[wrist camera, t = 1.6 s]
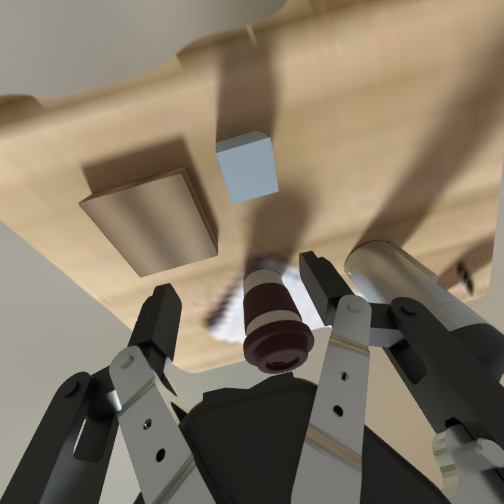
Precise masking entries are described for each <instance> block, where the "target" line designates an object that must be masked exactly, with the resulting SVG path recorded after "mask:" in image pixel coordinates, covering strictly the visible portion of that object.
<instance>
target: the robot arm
mask: <svg viewBox="0 0 504 504" xmlns="http://www.w3.org/2000/svg"><path fill="white" fill-rule="evenodd" d="M299 269H300V276H301V280H302V282H303V284H304V286H305V288H306V290H307V292H308V294H309V296H310V298H311V300H312V302H313V304H314V306H315V308H316V310H317V312H318V314H319V316H320V318H321V320H322V321H323V323H324V325H325V326H328V325H331V326H332V332H331V336H330V339H329V342H328V346H327V351H326V355H325V360H324V363H323V368H322V371H321V376H320V380H319V384H318V385H317V384H315V383H313V382H311V381H308V380H306V379H302V378H295V377H293V373H292V372H287V373H283V374H279V375H276V376H271V377H269V378H267V379H265V380H264V381H262V382H260V383H259V384H257V385H255V386H253V387H252V388H250V389H237V388H222V389H218V390H213V391H209V392H206V393H203V401H201V402H200V403H198V404H197V405H196V406H195V407H193V408H192V409H191V410H190V409H189V408H188V407H187V405H186V404H185V403H184V402H183V401H182V399H181V398H180V396H179V394H178V393H177V391H176V390H175V388H174V386H173V384H172V383H171V381H170V380H169V378H168V376H167V374H166V373H165V372H164V366H165V364H167V363H171V362H173V358H174V352H175V346H176V340H177V334H178V328H179V322H180V316H181V310H182V304H181V300H180V298H179V296H178V295H177V293H176V292H175V290H174V288H173V287H172V285H171V284H170V283H168V284H163V285H159V286H156V287H155V289H154V292H153V295H152V296H150V297H148V298H147V300H146V301H145V302H144V304H143V305H142V308H141V311H140V314H139V316H138V321H137V322H136V324H135V327H134V330H133V333H132V335H131V338H130V341H129V343H128V346H127V348H125V349H123V350H122V351H121V352H119V353H118V354H117V355H116V357H115V358H114V359H113V361H112V362H111V364H110V365H109V366H108V367H106V368H104V369H102V370H100V371H98V372H96V373H95V374H93V375H90V374H89V373H87V372H79V373H76V374H75V375H73V376H71V377H70V378H68V379H67V380H66V381H65V382H64V383H63V384H62V385H61V386H60V387H59V389H58V390H57V392H56V393H55V395H54V397H53V399H52V401H51V403H50V405H49V407H48V409H47V411H46V413H45V414H44V417H43V418H42V420H41V422H40V424H39V426H38V428H37V430H36V432H35V434H34V436H33V438H32V440H31V442H30V444H29V446H28V448H27V449H26V451H25V453H24V455H23V457H22V459H21V461H20V463H19V465H18V467H17V469H16V471H15V473H14V475H13V477H12V479H11V481H10V482H9V485H8V486H7V489H6V490H5V492H4V494H3V496H2V498H1V500H0V504H98V503H99V500H100V496H101V492H102V488H103V484H104V480H105V476H106V473H107V468H108V465H109V461H110V457H111V453H112V450H113V446H114V442H115V438H116V434H117V430H118V426H119V424H120V427H121V430H122V434H123V436H124V440H125V443H126V446H127V449H128V452H129V455H130V458H131V461H132V464H133V467H134V470H135V473H136V477H137V480H138V483H139V485H140V489H141V492H140V493H139V495H138V497H137V499H136V500H135V502H134V503H133V504H504V387H503V386H502V385H501V384H500V383H499V382H500V379H501V377H502V375H503V373H504V334H502V333H501V332H500V331H498V330H497V329H496V328H495V327H493V326H492V325H490V324H489V323H488V322H487V321H486V320H484V319H483V318H482V317H481V316H479V315H478V314H477V313H475V312H474V311H473V310H472V309H470V308H469V307H468V306H466V305H465V304H464V303H463V302H461V301H460V300H459V299H457V298H456V297H455V296H454V295H452V294H451V293H450V292H449V291H447V290H446V289H445V288H443V287H442V286H441V285H440V284H438V283H437V281H438V279H439V278H438V276H437V275H436V274H435V273H433V272H432V271H431V270H429V269H428V268H427V267H425V266H424V265H423V264H421V263H420V262H419V261H417V260H416V259H415V258H413V257H412V256H411V255H409V254H408V253H407V252H405V251H404V250H403V249H402V248H400V247H399V246H398V245H396V244H395V243H394V242H390V243H386V242H383V241H373V242H369V243H366V244H364V245H362V246H360V247H359V248H357V249H356V250H355V251H354V252H353V253H352V254H351V255H350V256H349V257H348V259H347V261H346V263H345V272H346V274H347V275H348V276H349V278H350V279H351V281H352V282H353V283H354V284H355V285H356V287H357V288H358V289H359V290H360V292H361V293H362V294H363V295H364V297H365V298H366V299H367V301H368V302H367V301H366V300H365V299H364V298H362V297H360V296H357V295H355V294H354V293H353V292H352V290H351V289H350V288H349V286H348V285H347V284H346V282H345V281H344V280H343V278H342V277H341V276H340V274H338V272H337V270H336V269H335V268H334V266H333V265H332V264H331V262H330V261H328V260H327V259H325V258H324V257H320V258H317V257H316V255H315V254H314V252H313V251H308V252H304V253H300V254H299ZM368 346H378V347H382V348H383V350H384V351H385V353H386V354H387V356H388V357H389V359H390V361H391V362H392V364H393V366H394V367H395V369H396V370H397V372H398V374H399V375H400V377H401V378H402V380H403V382H404V383H405V385H406V386H407V388H408V390H409V391H410V393H411V394H412V396H413V397H414V399H415V401H416V402H417V404H418V405H419V407H420V409H421V410H422V412H423V413H424V415H425V417H426V418H427V420H428V421H429V423H430V424H431V426H432V427H433V429H434V431H435V432H436V435H435V436H434V438H433V440H432V449H433V453H434V456H435V459H436V461H437V463H438V465H439V467H440V470H441V473H442V477H443V487H442V491H441V490H439V488H438V487H436V486H435V484H434V483H433V482H431V481H430V480H429V479H428V478H427V477H426V476H424V475H423V474H422V473H421V472H420V471H419V470H417V469H416V468H415V467H414V466H413V465H412V464H410V463H409V462H408V461H407V460H406V459H404V458H403V457H402V456H401V455H400V454H399V453H398V452H396V451H395V450H394V449H393V448H392V447H391V446H389V445H388V444H387V443H386V442H384V441H383V440H382V439H381V438H380V437H379V436H378V435H376V434H375V433H374V432H373V431H372V430H370V429H369V428H368V427H367V426H366V425H365V424H364V419H365V408H366V396H367V384H368V372H369V360H370V352H369V350H368ZM84 419H86V423H85V425H84V428H83V431H82V434H81V436H80V439H79V441H78V444H77V447H76V450H75V452H74V454H73V451H74V450H73V449H74V446H75V443H76V440H77V437H78V435H79V432H80V430H81V427H82V424H83V421H84Z"/></svg>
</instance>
